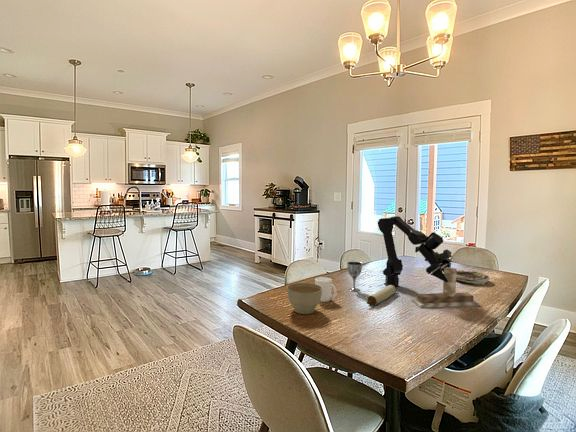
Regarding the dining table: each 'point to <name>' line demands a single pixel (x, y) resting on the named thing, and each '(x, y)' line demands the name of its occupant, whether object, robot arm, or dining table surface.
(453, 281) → the ash post
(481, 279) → the pie
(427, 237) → the robot arm
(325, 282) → the mug
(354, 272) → the wine glass
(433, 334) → the dining table surface
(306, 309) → the planter bowl
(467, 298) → the ridge stand
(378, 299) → the rolling pin
